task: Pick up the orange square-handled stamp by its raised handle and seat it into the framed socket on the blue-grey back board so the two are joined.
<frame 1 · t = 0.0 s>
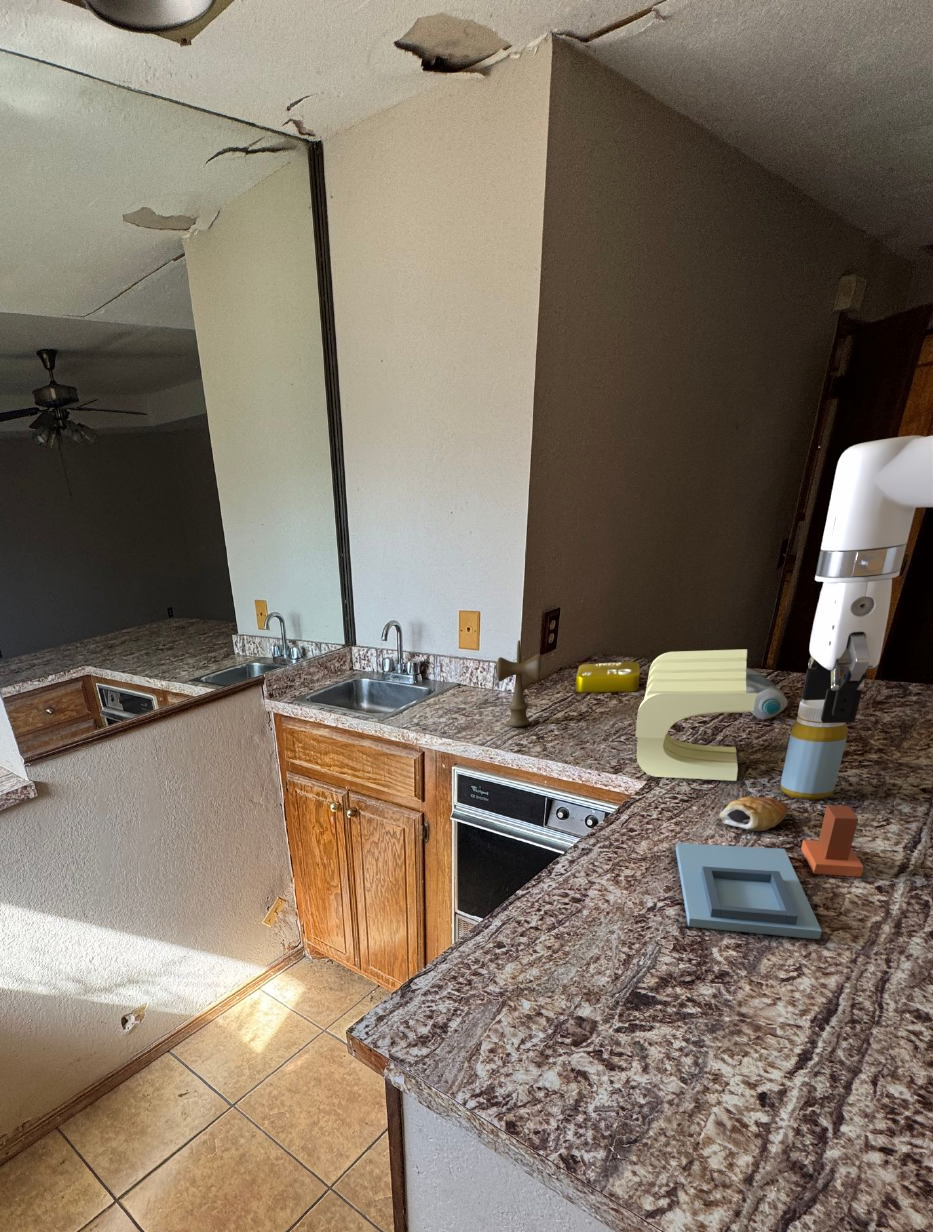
hand: (826, 710, 81), 20 cm above the countertop, tool pointing down, fingers open, 9 cm apart
bottle: (805, 793, 105), on the countertop
orange square-handled stamp: (829, 862, 87), on the countertop
pastry: (752, 822, 99), on the countertop
back board: (738, 889, 84), on the countertop
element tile: (607, 686, 175), on the countertop
slatted curved stool: (684, 766, 121), on the countertop
kendama: (518, 726, 155), on the countertop
detergent: (749, 709, 143), on the countertop
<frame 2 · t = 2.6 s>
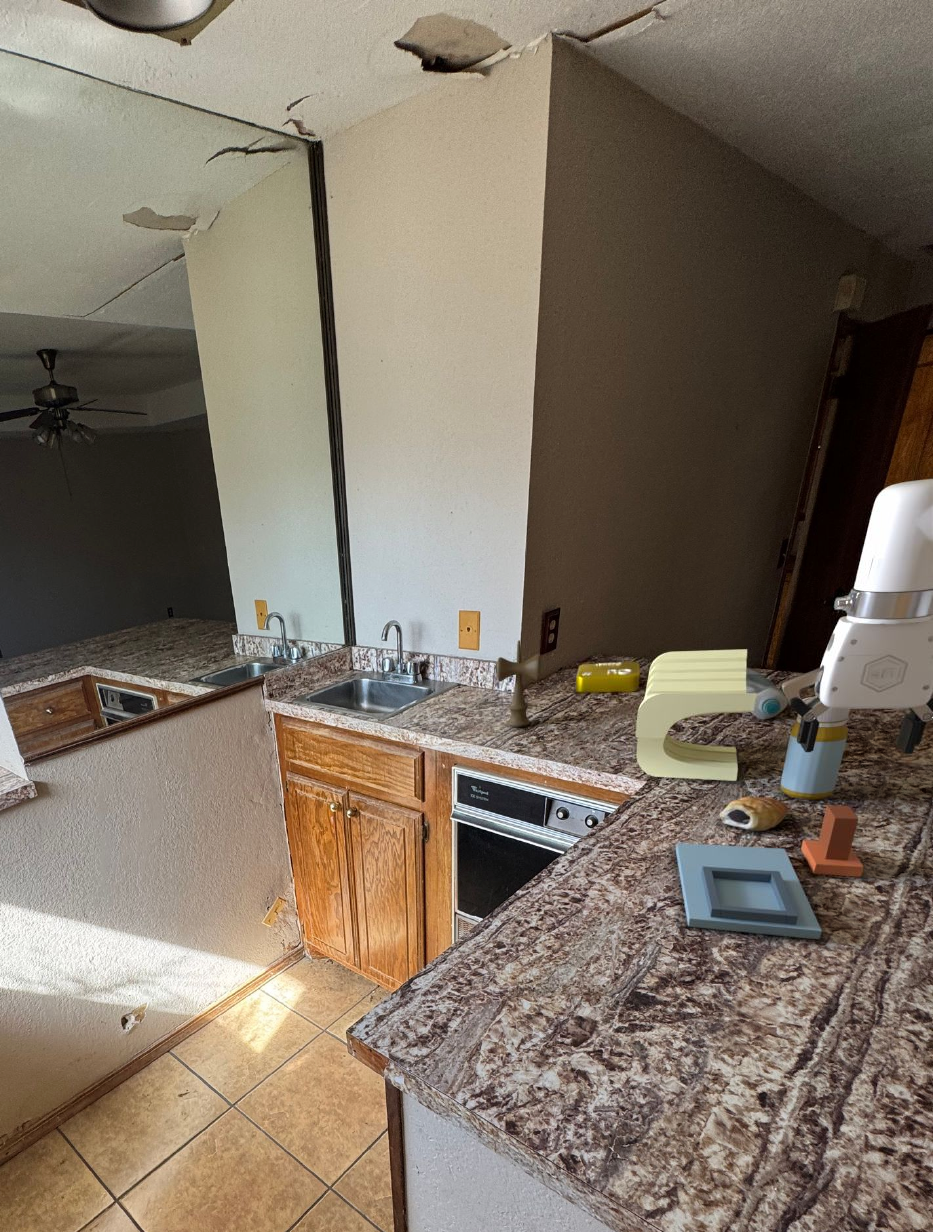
hand: (853, 749, 80), 16 cm above the countertop, tool pointing down, fingers open, 9 cm apart
nothing on the countertop moved.
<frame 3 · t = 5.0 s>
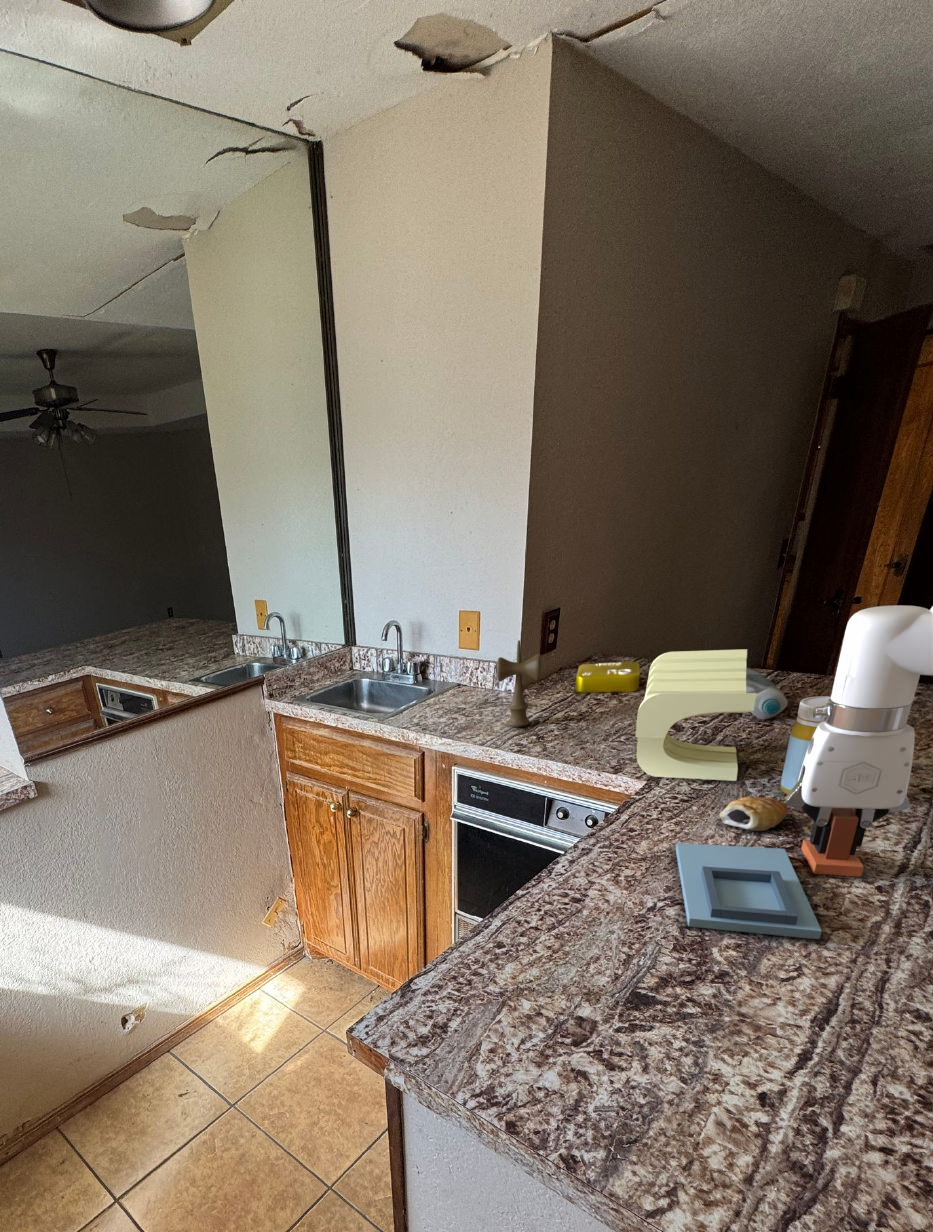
hand: (833, 848, 86), 2 cm above the countertop, tool pointing down, fingers closed on orange square-handled stamp, 2 cm apart
orange square-handled stamp: (829, 862, 87), on the countertop, touching gripper
everything else where it was.
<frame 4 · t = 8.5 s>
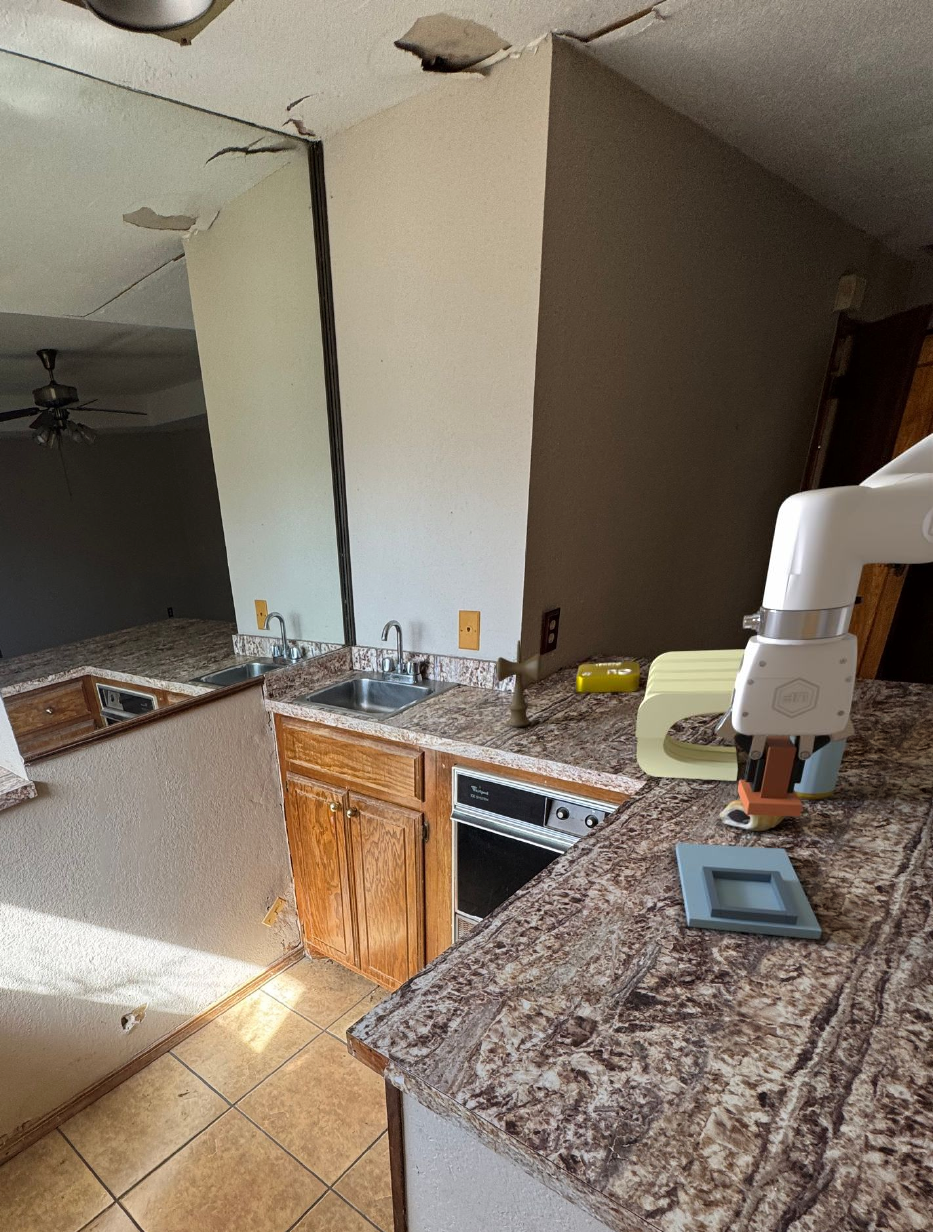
hand: (770, 787, 74), 16 cm above the countertop, tool pointing down, fingers closed on orange square-handled stamp, 2 cm apart
orange square-handled stamp: (767, 803, 75), point 14 cm above the countertop, touching gripper
everything else where it was.
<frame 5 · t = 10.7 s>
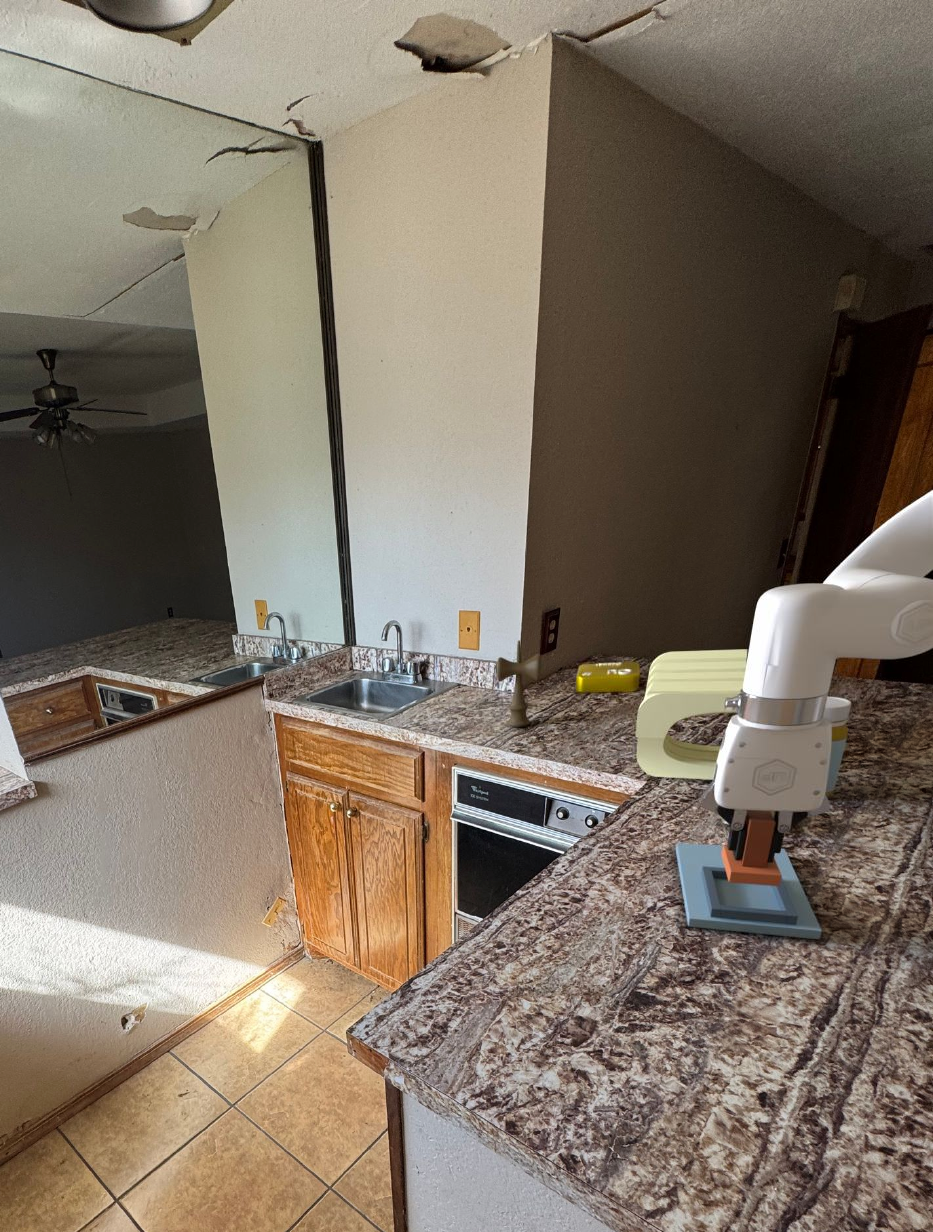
hand: (751, 855, 78), 7 cm above the countertop, tool pointing down, fingers closed on orange square-handled stamp, 2 cm apart
orange square-handled stamp: (748, 870, 79), point 5 cm above the countertop, touching gripper
everything else where it was.
when the fingers open (3 cm above the countertop, at t = 12.0 s): orange square-handled stamp stays where it is, resting on back board.
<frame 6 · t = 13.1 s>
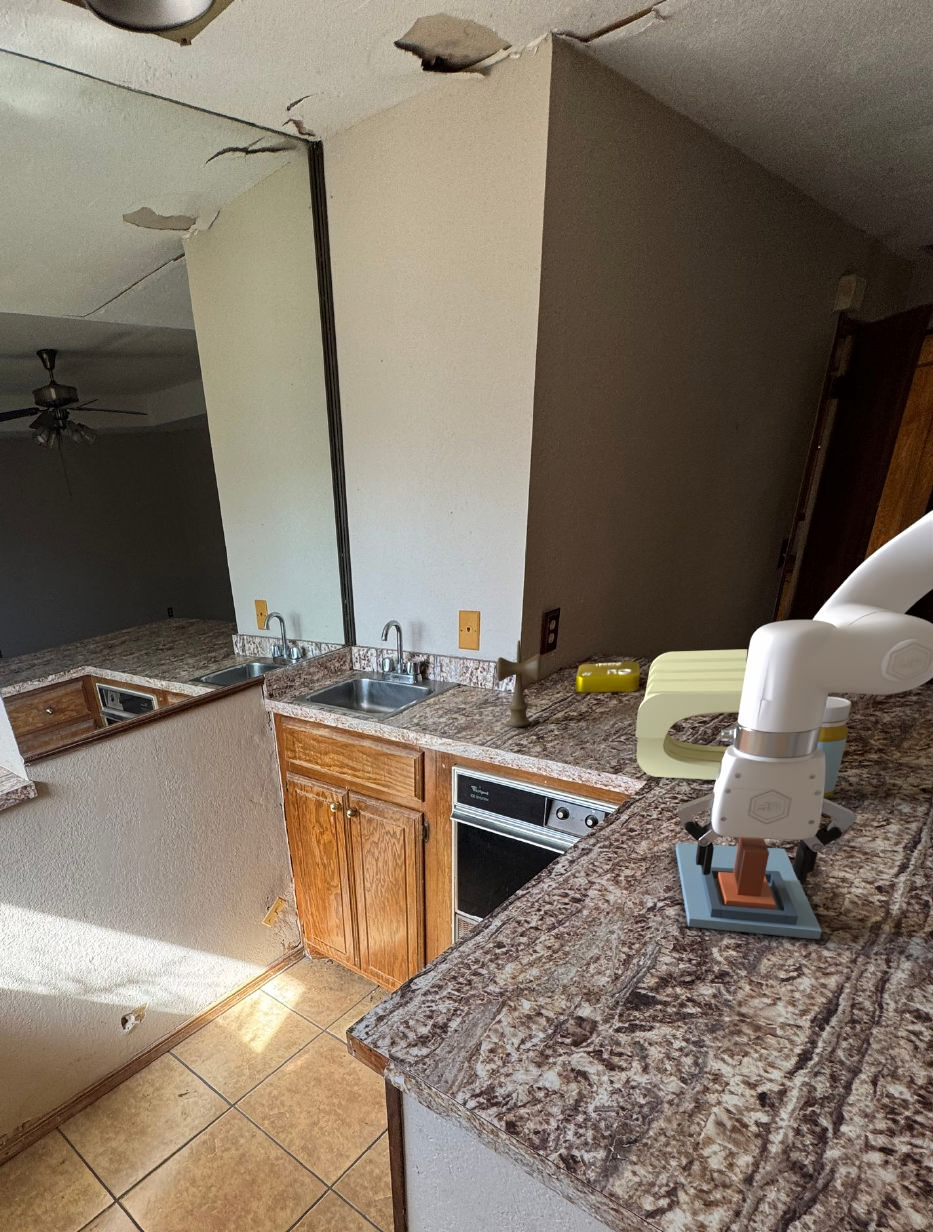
hand: (750, 872, 79), 5 cm above the countertop, tool pointing down, fingers open, 9 cm apart
orange square-handled stamp: (744, 897, 81), point 1 cm above the countertop, touching back board
everything else where it was.
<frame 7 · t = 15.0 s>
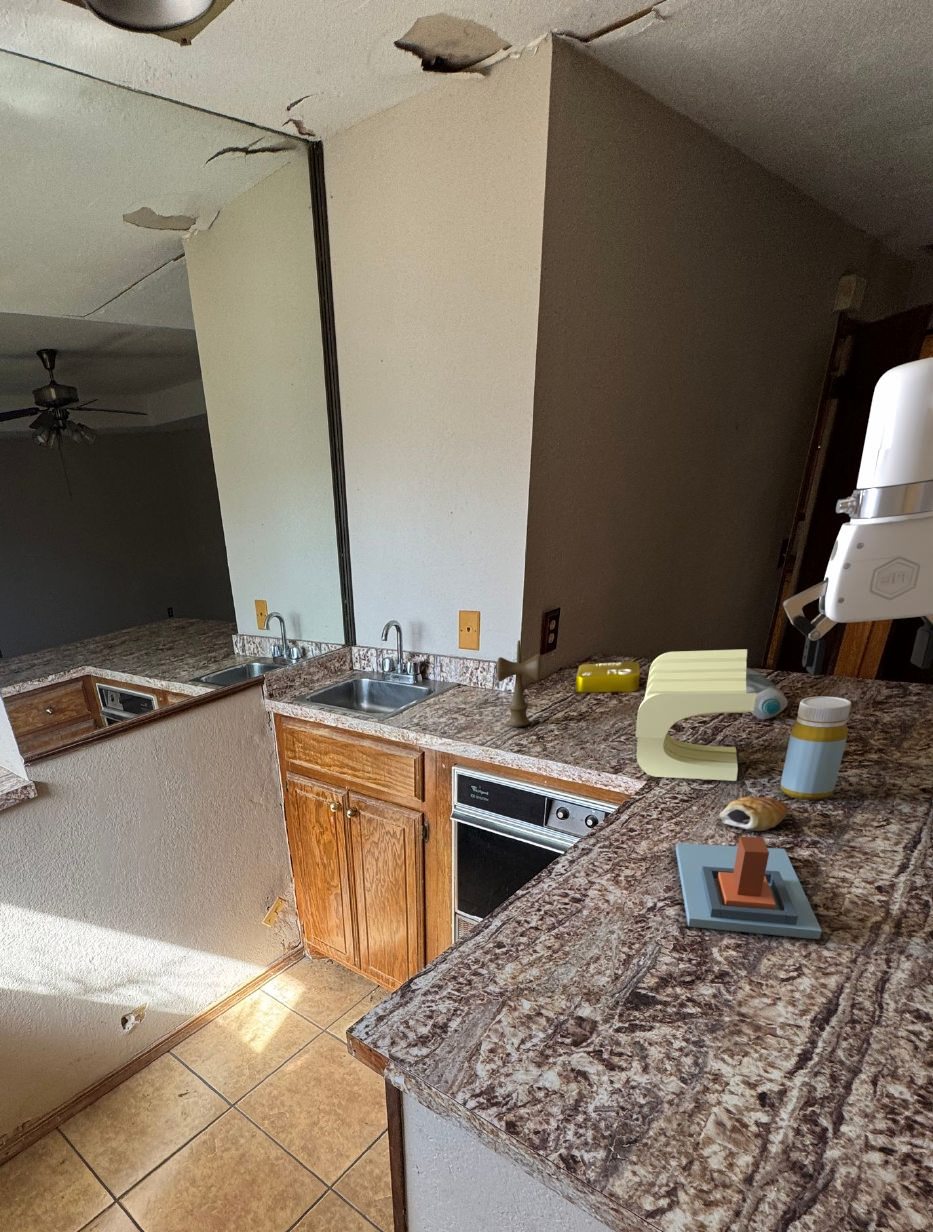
hand: (864, 669, 74), 27 cm above the countertop, tool pointing down, fingers open, 9 cm apart
nothing on the countertop moved.
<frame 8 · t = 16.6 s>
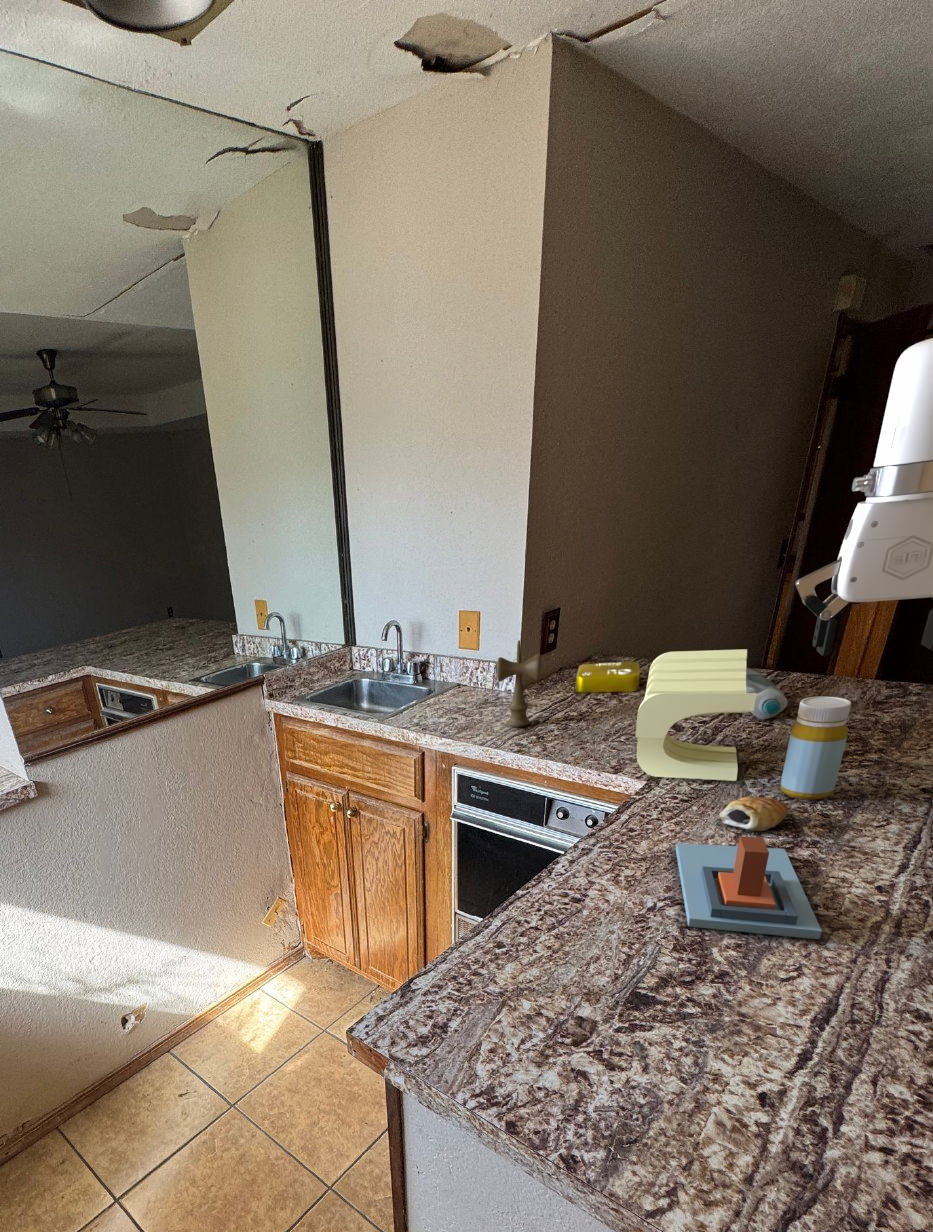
hand: (874, 650, 74), 28 cm above the countertop, tool pointing down, fingers open, 9 cm apart
nothing on the countertop moved.
at the end: orange square-handled stamp 0.1 cm from the target spot on the back board, point 1.2 cm above the back board's base; orange square-handled stamp tilted 0°; the gripper is holding nothing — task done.
